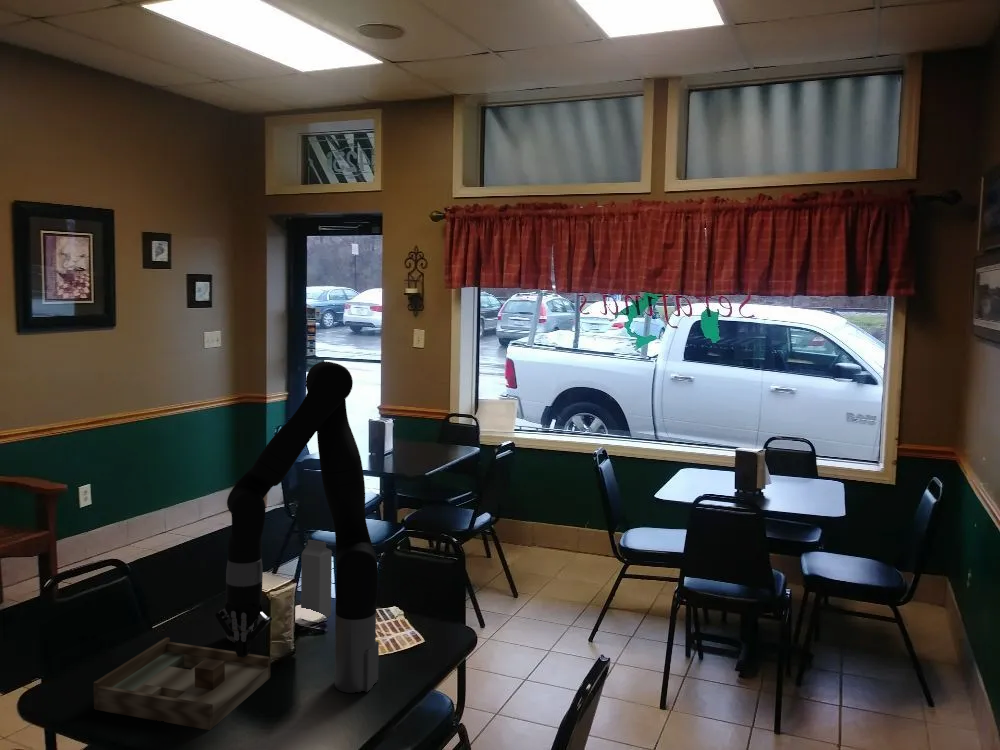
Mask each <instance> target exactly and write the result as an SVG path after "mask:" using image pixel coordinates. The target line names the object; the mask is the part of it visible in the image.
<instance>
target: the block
mask: <svg viewBox="0 0 1000 750" xmlns="http://www.w3.org/2000/svg"><path fill="white" fill-rule="evenodd" d="M224 681H225V661H219V660H213V659H206V660H204V661H203V662H201V663H200V664H199V665H197V666H196V667H195V687H198V688H204V689H210V690H214V689H215V688H216V687H217V686H219V685H220V684H221V683H222V682H224Z"/></svg>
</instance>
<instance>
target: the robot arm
mask: <svg viewBox="0 0 1000 750" xmlns="http://www.w3.org/2000/svg"><path fill="white" fill-rule="evenodd" d="M305 388H306V392H307V393H306V394H305V397H304V399H303V400H302V403H301V404H300V406H298V409H297V410H296V411H295V412H294V413H293V415H292V416H291V417H290V418H289V419H288V421H286V423H285V424H284V425H283V426H282V427H281V428H280V429H279V430H278V431H277V432H276V434H274V435H273V437H272V438H270V440H269V442H268V443H267V444H266V446H265V447H264V449H263V450H262V452H261V453H260V454H259V456H258V457H257V459H256V460H255V462H254V464H253V466H252V467H251V468H249V470H248V471H246V473H245V474H244V475H243V476H242V477H241V478H239V480H238V481H237V482H236V483H235V485H234V487H232V489H231V491H230V492H229V494H228V495H227V496H228V497H227V500H226V504H227V505H226V506H227V509H228V511H229V512H230V514H231V534H230V535H229V537H228V543H227V544H228V545H227V565H226V571H225V572H226V573H225V577H226V578H225V601H226V603H225V604H224V608H223V609H221V610H219V611H217V612H216V613H215V615H214V616H215V618H216V619H217V620H218V623H219V625H221V628H222V629H223V630H224V632H225V635H226V636H227V635H228V636H229V637H231V636H232V637H234V639H235V640H236V643H235V649H234V650H235V651H234V652H236V654H237V657H242V658H244V657H246V656H247V655H248V654H251V647H252V646H251V644H252V643H251V642H252V641H253V640H255V639H256V638H257V637H259V636H260V635H261V633H262V632H263V631H264V630H265V629H266V628H267V626H268V625H269V624H270V623H271V621H273V617H272V616H271V615H266V614H265V613H264V611H263V610H264V608H263V605H262V598H263V572H264V571H263V570H264V569H263V567H264V566H263V557H262V556H263V539H262V538H263V535H264V534H263V533H264V526H265V520H266V511H267V510H266V502H265V499H264V498H265V497H266V496H267V494H268V493H269V492H270V491H271V489H272V488H273V487H277V486H278V485H280V484H281V483H282V481H283V480H284V479H285V478H286V476H287V474H288V473H289V472H290V470H291V468H292V467H293V466H294V464H295V462H297V460H298V458H299V457H300V456H301V453H302V452H303V450H304V449H305V448H306V446H307V444H309V442H310V441H311V439H312V438H313V436H314V435H315V434H316V436H317V439H316V440H317V448H318V458H319V467H320V473H321V474H320V475H321V480H322V486H323V491H324V495H325V499H326V502H327V506H328V508H329V511H330V514H331V517H332V521H333V526H334V536H335V537H334V538H335V569H336V571H335V573H336V575H335V576H336V577H335V581H336V583H335V586H336V588H335V621H334V622H335V625H334V626H335V627H334V629H335V630H334V631H335V632H334V687H335V688H336V689H337V691H340V692H343V693H346V694H347V693H350V694H356V693H355V692H358V693H362V692H361V691H365V692H364V693H369V692H370V691H371V690H372V688H373V687H374V686H375V685H376V684H375V683H377V682H378V681H379V656H380V655H379V650H380V649H379V647H380V643H379V641H377V640H376V638H377V637H376V635H377V634H376V632H377V629H376V628H377V603H378V588H379V587H378V585H379V564H378V560H377V555H376V552H375V549H374V546H373V544H372V540H371V537H370V533H369V528H368V523H367V520H366V519H367V518H366V484H365V477H364V471H363V470H364V469H363V463H362V458H361V454H360V450H359V447H358V444H357V441H356V438H355V436H354V434H353V432H352V429H351V428H352V427H351V425H350V422H349V418H348V412H347V402H346V400H347V398H348V397H349V395H350V394H351V392H352V390H353V377H352V375H351V372H350V371H349V370H348V368H347V367H345V366H344V365H342V364H339V363H336V362H332V361H320V362H317V363H315V364H313V365H312V366H311V368H310V369H309V370H308V371H307V374H306V377H305ZM256 620H257V627H256V628H255V629H254V630H253V627H254V622H255V621H256ZM252 631H253V632H252ZM377 680H378V681H377ZM374 684H375V685H374ZM373 685H374V686H373ZM369 690H370V691H369ZM368 691H369V692H368Z"/></svg>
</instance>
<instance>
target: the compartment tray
mask: <svg viewBox="0 0 1000 750" xmlns="http://www.w3.org/2000/svg"><path fill="white" fill-rule="evenodd" d="M206 659H213V660H219V661H225V681H224V682H222V683H221V684H220V685H219V686H217V687H216V688H215V689H214V690H210V689H204V688H198V687H195V667H196V666H197V665H199V664H200V663H201V662H203V661H204V660H206ZM270 678H271V656H266V655H260V654H254V653H249V654H248V655H247V656H246V657H244V658H242V657H237V654H236V652H235V651H233V650H226V649H221V648H220V649H219V648H212V647H207V646H200V645H194V644H186V643H179V642H173V641H170V637H167V636H166V637H164V638H162V639H161V640H159V641H158V642H157V643H154V644H153V645H151V646H150V647H148V648H146V649H145V650H143V651H142V652H140V653H138V654H137V655H136V656H134V657H132V658H131V659H129V660H127V661H125V662H124V663H122V664H120V665H119V666H118V667H116V668H114V669H113V670H111V671H110V672H108V673H106V674H104V676H102V677H100V678H99V679H97V680H95V681H93V710H94V709H95V711H101V712H106V713H112V714H118V715H124V716H129V717H135V718H140V719H144V720H145V719H146V720H151V721H156V720H157V722H161V721H164V722H163V723H168V724H173V725H174V724H175V725H178V726H184V727H185V726H186V727H191V728H197V729H201V730H208V731H211V730H212V729H213V728H214V727H215V726H217V725H218V724H219V723H220V722H221V721H222V720H223V719H225V718H226V717H227V716H228V715H229V714H231V712H232V711H234V710H235V709H236V708H237V707H239V705H241V704H242V703H243V702H244V701H245V700H246V699H247V698H249V697H250V696H251V695H252V694H253V693H254V692H255V691H257V690H258V689H259V688H260V687H262V686H263V685H264V684H265V683H266V682H267V681H268V680H269V679H270Z"/></svg>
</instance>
